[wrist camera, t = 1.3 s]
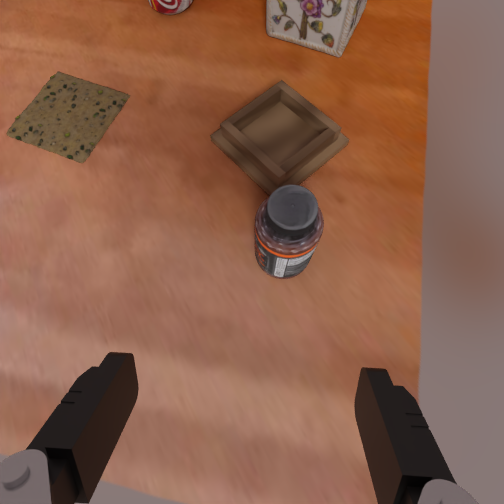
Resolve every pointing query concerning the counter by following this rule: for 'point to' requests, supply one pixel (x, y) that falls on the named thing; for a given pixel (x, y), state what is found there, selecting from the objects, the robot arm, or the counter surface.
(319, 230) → the supplement bottle
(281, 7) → the decorative jar
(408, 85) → the counter surface
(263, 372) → the counter surface
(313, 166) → the walnut tray
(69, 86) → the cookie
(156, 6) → the soda can
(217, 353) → the counter surface
